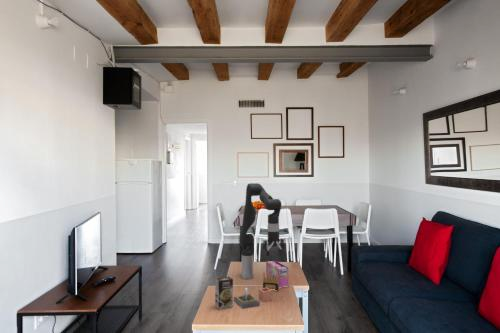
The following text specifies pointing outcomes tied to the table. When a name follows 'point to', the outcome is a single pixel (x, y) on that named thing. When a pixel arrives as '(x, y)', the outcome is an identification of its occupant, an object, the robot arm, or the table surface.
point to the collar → (265, 294)
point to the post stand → (246, 300)
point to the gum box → (278, 272)
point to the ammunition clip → (270, 281)
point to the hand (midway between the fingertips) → (273, 255)
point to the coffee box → (224, 292)
